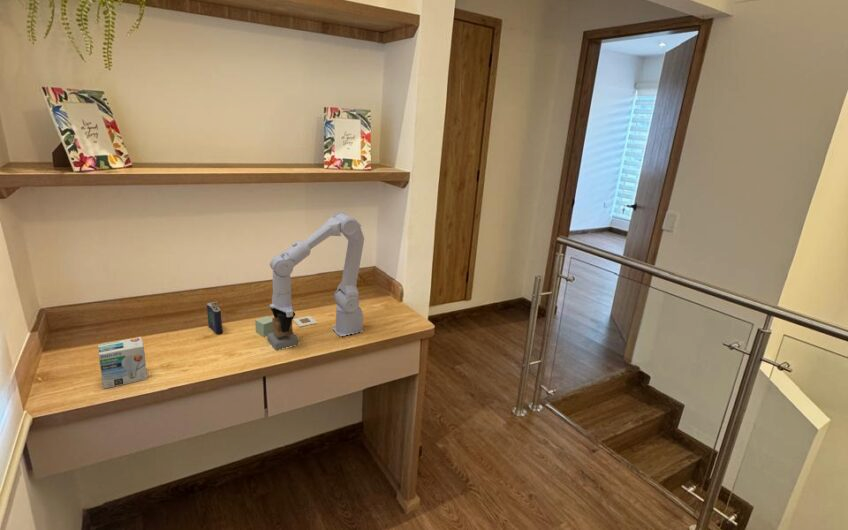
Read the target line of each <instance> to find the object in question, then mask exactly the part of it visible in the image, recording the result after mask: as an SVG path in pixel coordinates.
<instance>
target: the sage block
mask: <svg viewBox="0 0 848 530" xmlns="http://www.w3.org/2000/svg"><path fill="white" fill-rule="evenodd" d="M254 324H255V333H256V334H258V335H259V336H261V337H263V338H265V337H267V334H269V333H273V322H272V317H270V316H269V315H267V316H263V317H260V318H256V319H255V320H254Z"/></svg>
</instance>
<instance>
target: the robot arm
mask: <svg viewBox="0 0 848 530" xmlns="http://www.w3.org/2000/svg"><path fill="white" fill-rule="evenodd" d="M361 227H362V225H361V223H360V222H359V221H358V220H357V219H355V218H353V217H351V216H349V215H348V214H346V213H345V212H341V211H340V212H337V213H334V215H333V216H331V217H329V218H328V219H327V220H326V222H325V223H324V224H323V225H322V226H320V227H319V228H318V229H317V230H316V231H315V232H313V233H312V234H311V235H310V236H308V237H307V238H306V239H305V240H303V241H302V240H298V241H294V242H293V243H292V244H291V247H289V248H287V249H286V250H285V251H281V253H280V254H279V255H275V256H273V258H272V259H271V261H270V263H269V267H270V268H271V270H272V296H271V302H272V303H270V304H269V308H270V310H271V312H272V315H273V318H276V317H278V318H279V320H280V323H281V329H282V332H288V331H289V329H290V325H291V322H292V323H293V319H295V318H294V317H295V316H296V313H295V311H294V310H293V305H292V288H291V287H292V285H291V283H292V282H291V281H292V279H291V274H292V273H293V271H294V268H295V267H296V266H297V265H299V264H300V263H301V262H302V261H303V260H305V259H306V258H308V257H309V256H310V255H311V250H312V249H314V248H315V247H316V246H318V245H319V244H321V243H322V242H324V241H325V240H326V239H328V238H329V237H331V236H332V237H342V235H343V236H344V237H345V239H346V240H347V247H346V251H345V252H346V253H345V260H344V266H343V271H342V277H341V282H340V283H339V284H338V285H337V290H335V292H334V295H333V299H334V302H335V303H336V307H335V309H336V310H335V326H332V327H331V328H332V329H333V330H334V331H335V332H334V331H333V330H332V329H331V330H332V331H333V332H334V333H335V334H336V335H338V336H339V337H340V338H343V337H342V335H343V336H344V337H347V336H346V335H348V336H351V335H350V334H352V335H356V334H359V333H358V332H360V333H363V332H364V330H363V327H364V325H363V323H364V322H363V321H364V314H363V310H362V308H361V307H360V300H359V290H358V287H357V282H358V277H359V272H360V265H361V260H362V254H363V247H364V241H365V236H364V234H363V231H362V228H361ZM362 331H363V332H362ZM355 333H356V334H355Z"/></svg>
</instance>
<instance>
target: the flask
mask: <svg viewBox="0 0 848 530" xmlns="http://www.w3.org/2000/svg"><path fill="white" fill-rule="evenodd" d="M206 312H207V313H206V315H207V326H208V328H210V330H211V331H213V333H214V334H215V335H216V336H220V335H223V333H224V331H223V324H222V323H223V322H222V310H221V308H220V307H219V306H218V301H214V302H213V301H212V302H208V303H206Z"/></svg>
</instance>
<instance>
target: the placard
mask: <svg viewBox="0 0 848 530" xmlns="http://www.w3.org/2000/svg"><path fill="white" fill-rule="evenodd" d="M292 322H294V323H295V324H296V325H297V326H298V327H299V328H302V326H303V327H307V326H311V324H312V325H316V323H317V324H318V321H316V320H315V318H314V317H312V316H311V315H307V316H301V317H297V318H296V317H295V318H293V319H292ZM306 325H307V326H306Z"/></svg>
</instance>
